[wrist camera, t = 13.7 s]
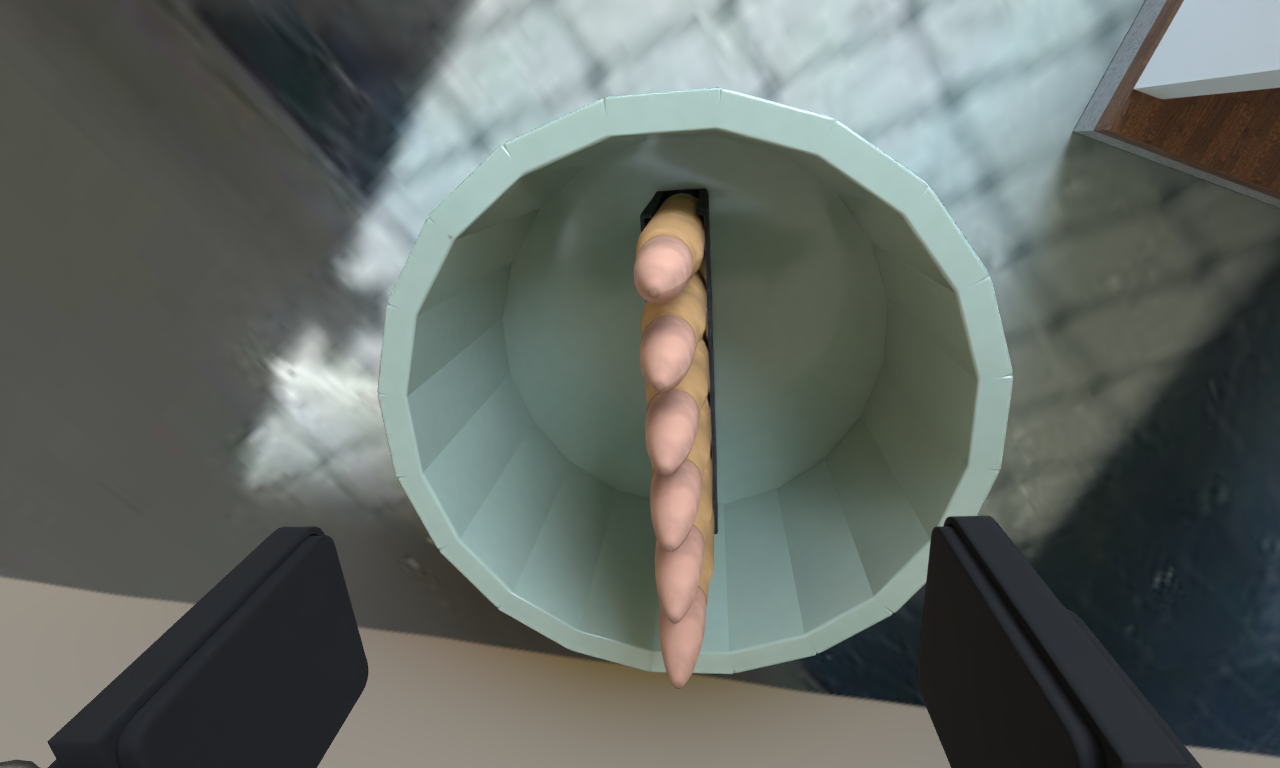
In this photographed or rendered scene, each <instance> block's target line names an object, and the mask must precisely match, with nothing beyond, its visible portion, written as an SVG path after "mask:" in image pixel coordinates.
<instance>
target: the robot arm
mask: <svg viewBox="0 0 1280 768" xmlns="http://www.w3.org/2000/svg"><path fill="white" fill-rule="evenodd" d="M917 675H918V683H919V688H920V692H921V695H922V698H923V700H924V702H925V705H926V707H927V710H928V712H929V714H930V717H931V719H932V722H933V724H934V727H935V729H936V732H937V734H938V736H939V739H940V741H941V744H942V746H943V748H944V751H945V753H946V756H947V758H948V761H949V763H950V766H951V768H1202V767H1201V766H1200V764H1199V763H1198V762H1197V761H1196V759H1195V758H1194V757H1193V756H1192V754H1191V753H1190V752H1189V751H1188V750H1187V748H1186V747H1185V746H1184V745H1183V743H1182V742H1181V741H1180V740H1179V738H1178V737H1177V736H1176V735H1175V734H1174V732H1173V731H1172V730H1171V729H1170V727H1169V726H1168V725H1167V724H1166V722H1165V721H1164V720H1163V719H1162V718H1161V716H1160V715H1159V714H1158V713H1157V711H1156V710H1155V709H1154V708H1153V706H1152V705H1151V704H1150V703H1149V701H1148V700H1147V699H1146V698H1145V697H1144V695H1143V694H1142V693H1141V692H1140V690H1139V689H1138V688H1137V687H1136V685H1135V684H1134V683H1133V682H1132V681H1131V679H1130V678H1129V677H1128V676H1127V674H1126V673H1125V672H1124V671H1123V669H1122V668H1121V667H1120V666H1119V665H1118V663H1117V662H1116V661H1115V660H1114V658H1113V657H1112V656H1111V655H1110V653H1109V652H1108V651H1107V650H1106V649H1105V647H1104V646H1103V645H1102V644H1101V642H1100V641H1099V640H1098V639H1097V637H1096V636H1095V635H1094V634H1093V633H1092V631H1091V630H1090V629H1089V628H1088V626H1087V625H1086V624H1085V623H1084V621H1083V620H1082V619H1081V618H1080V617H1079V616H1077V615H1076V614H1075V613H1074V612H1072V611H1070V610H1068V609H1065V607H1064V606H1063V605H1062V604H1061V602H1060V601H1059V600H1058V599H1057V597H1056V596H1055V595H1054V594H1053V592H1052V591H1051V590H1050V589H1049V587H1048V586H1047V585H1046V584H1045V582H1044V581H1043V580H1042V579H1041V577H1040V576H1039V575H1038V573H1037V572H1036V571H1035V570H1034V568H1033V567H1032V566H1031V565H1030V563H1029V562H1028V561H1027V560H1026V558H1025V557H1024V556H1023V555H1022V553H1021V552H1020V551H1019V550H1018V548H1017V547H1016V546H1015V545H1014V543H1013V542H1012V541H1011V540H1010V538H1009V537H1008V536H1007V535H1006V533H1005V532H1004V531H1003V530H1002V528H1001V527H1000V526H999V524H998V523H997V522H996V521H995V520H994V519H993V518H992V517H990V516H949V517H948V518H946V520H945V522H944V526H940V527H934V528H933V530H932V534H931V542H930V551H929V561H928V570H927V580H926V589H925V599H924V608H923V618H922V628H921V637H920V647H919V656H918V666H917ZM367 678H368V663H367V659H366V656H365V653H364V649H363V645H362V642H361V638H360V634H359V631H358V627H357V623H356V620H355V616H354V613H353V609H352V605H351V602H350V598H349V595H348V591H347V587H346V584H345V580H344V576H343V573H342V569H341V566H340V562H339V558H338V555H337V551H336V548H335V544H334V542H333V540H332V538H331V537H329V536H327V535H325V534H324V532H323V531H322V530H321V529H320V528H318V527H282V528H279V529H277V530H276V531H274V532H273V533H272V534H271V535H270V536H269V537H268V538H266V539H265V540H264V541H263V542H262V543H261V544H260V545H259V546H258V547H257V548H256V549H255V550H254V551H252V552H251V553H250V554H249V555H248V556H247V557H246V558H245V559H244V560H243V561H242V562H241V563H240V564H238V565H237V566H236V567H235V568H234V569H233V570H232V571H231V572H230V573H229V574H228V575H227V576H226V577H224V578H223V579H222V580H221V581H220V582H219V583H218V584H217V585H216V586H215V587H214V588H213V589H211V590H210V591H209V592H208V593H207V594H206V595H205V596H204V597H203V598H202V599H201V600H200V601H199V602H197V603H196V604H195V605H194V606H193V607H192V608H191V609H190V610H189V611H188V612H187V613H186V614H185V615H184V616H182V617H181V618H180V619H179V620H178V621H177V622H176V623H175V624H174V625H173V626H172V627H171V628H170V629H168V630H167V631H166V632H165V633H164V634H163V635H162V636H161V637H160V638H159V639H158V640H157V641H155V642H154V643H153V644H152V645H151V646H150V647H149V648H148V649H147V650H146V651H145V652H144V653H143V654H141V655H140V657H138V658H137V659H136V660H135V661H134V662H133V663H132V664H131V665H130V666H129V667H127V668H126V670H124V671H123V672H122V673H121V674H120V675H119V676H118V677H117V678H116V679H115V680H113V681H112V682H111V683H110V684H109V685H108V686H107V687H106V688H105V689H104V690H103V691H102V692H101V693H99V694H98V695H97V696H96V697H95V698H94V699H93V700H92V701H91V702H90V703H89V704H88V705H87V706H85V707H84V708H83V709H82V710H81V711H80V712H79V713H78V714H77V715H76V716H75V717H74V718H73V719H71V721H69V722H68V723H67V724H66V725H65V726H64V727H63V728H62V729H61V730H60V731H59V732H57V733H56V734H55V735H54V736H53V737H52V738H51V739H50V740H49V741H48V744H49V746H50V748H51V749H52V751H53V753H54V755H55V757H56V760H55V761H54V762H53V763H52V764H51V765H50V766H49V767H48V768H317V766H318V765H319V763H320V761H321V760H322V758H323V756H324V754H325V753H326V751H327V749H328V748H329V746H330V745H331V743H332V741H333V740H334V738H335V736H336V735H337V733H338V732H339V730H340V728H341V727H342V725H343V723H344V722H345V720H346V718H347V717H348V715H349V713H350V711H351V710H352V708H353V706H354V705H355V703H356V702H357V700H358V698H359V697H360V695H361V693H362V691H363V690H364V688H365V685H366V682H367ZM0 768H39V767H38V766H37V765H36V764H34V763H33V762H31V761H22V760H13V761H7V762H1V763H0Z"/></svg>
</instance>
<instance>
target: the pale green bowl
mask: <svg viewBox="0 0 1280 768" xmlns="http://www.w3.org/2000/svg"><path fill="white" fill-rule="evenodd" d="M701 188H706V189H707V191H708V194H709V220H710V253H711V286H712V319H713V352H714V385H715V418H716V451H717V496H718V533H717V534H714V570H713V574H712V577H711V580H710V583H709V589H708V602H707V606H706V623H705V631H704V637H703V643H702V647H701V651H700V654H699V657H698V660H697V663H696V665H695V668H694V670H693V673H707V674H733V673H740V672H744V671H749V670H753V669H757V668H762V667H766V666H771V665H775V664H779V663H784V662H788V661H793V660H797V659H801V658H806V657H810V656H815V655H816V653H821V652H823V651H825V650H827V649H829V648H831V647H833V646H835V645H836V644H838V643H840V642H842V641H844V640H846V639H848V638H850V637H852V636H853V635H855V634H857V633H859V632H861V631H863V630H865V629H867V628H869V627H870V626H872V625H874V624H876V623H878V622H880V621H882V620H884V619H886V618H887V617H889V616H891V615H892V612H893V613H896V612H897V611H898V610H899V609H900V608H901V607H902V606H903V605H904V604H905V603H906V602H907V601H908V600H909V599H910V598H911V597H912V596H913V595H914V594H915V593H916V592H917V591H918V590H919V589H921V588H922V587H923V586H924V585H925V584H926V580H927V570H928V561H929V551H930V542H931V534H932V530H933V528H934V527H940V526H944V522H945V520H946V518H948V517H949V516H977V515H978V513H979V511H980V509H981V507H982V505H983V503H984V501H985V499H986V497H987V496H988V494H989V492H990V490H991V488H992V486H993V484H994V482H995V480H996V478H997V476H998V475H999V470H1000V469H1001V464H1002V457H1003V450H1004V443H1005V436H1006V429H1007V422H1008V414H1009V407H1010V400H1011V393H1012V386H1013V379H1014V378H1013V375H1012V374H1013V370H1012V365H1011V361H1010V357H1009V352H1008V348H1007V344H1006V339H1005V335H1004V330H1003V326H1002V322H1001V317H1000V313H999V309H998V304H997V300H996V296H995V291H994V287H993V283H992V279H991V277H990V276H989V273H988V270H987V269H986V267H985V266H984V264H983V263H982V261H981V260H980V259H979V257H978V256H977V254H976V253H975V251H974V250H973V248H972V247H971V245H970V244H969V242H968V241H967V239H966V238H965V236H964V235H963V233H962V232H961V230H960V229H959V227H958V226H957V225H956V223H955V222H954V220H953V219H952V217H951V216H950V214H949V213H948V211H947V210H946V208H945V207H944V205H943V204H942V202H941V201H940V199H939V198H938V196H937V195H936V194H935V192H934V191H933V189H932V188H931V187H929V186H928V184H927V182H925V181H924V180H923V179H921V178H920V177H918V176H917V175H915V174H914V173H913V172H911V171H910V170H908V169H907V168H905V167H904V166H903V165H901V164H900V163H898V162H897V161H896V160H894V159H893V158H891V157H890V156H888V155H887V154H886V153H884V152H883V151H881V150H880V149H878V148H877V147H876V146H874V145H873V144H871V143H870V142H869V141H867V140H866V139H864V138H863V137H861V136H860V135H859V134H857V133H856V132H854V131H853V130H851V129H850V128H849V127H847V126H846V125H844V124H843V123H842V122H840V121H839V120H834V119H833V118H832V117H829V116H826V115H822V114H818V113H814V112H811V111H807V110H803V109H799V108H796V107H792V106H788V105H784V104H781V103H777V102H773V101H769V100H766V99H762V98H758V97H755V96H751V95H747V94H743V93H740V92H736V91H732V90H728V89H725V88H723V89H721V90H720V88H707V89H695V90H683V91H671V92H659V93H647V94H635V95H623V96H611V97H605V98H604V99H599V100H597V101H595V102H592V103H590V104H588V105H586V106H584V107H581V108H579V109H577V110H575V111H573V112H570V113H568V114H566V115H564V116H562V117H559V118H557V119H555V120H553V121H551V122H549V123H546V124H544V125H542V126H540V127H538V128H535V129H533V130H531V131H529V132H527V133H524V134H522V135H520V136H518V137H516V138H513V139H511V140H509V141H507V142H506V143H505V144H504V145H500V146H499V147H498V148H497V149H496V150H495V151H494V152H493V153H492V154H491V155H490V156H489V157H488V158H487V159H486V160H485V161H484V162H483V163H482V164H481V165H480V166H479V167H478V168H476V169H475V170H474V171H473V172H472V173H471V174H470V175H469V176H468V177H467V178H466V179H465V180H464V181H463V182H462V183H461V184H460V185H459V186H458V187H457V188H456V189H455V190H454V191H453V192H452V193H451V194H450V195H449V196H448V197H447V198H446V199H445V200H444V201H443V202H442V203H441V204H440V205H439V206H438V207H437V208H436V209H435V210H434V211H433V212H432V213H431V214H430V215H429V218H428V219H427V220H426V222H425V224H424V226H423V228H422V230H421V232H420V234H419V236H418V239H417V241H416V243H415V245H414V247H413V249H412V251H411V253H410V255H409V257H408V260H407V262H406V264H405V266H404V268H403V270H402V272H401V274H400V276H399V278H398V281H397V283H396V285H395V287H394V289H393V291H392V293H391V295H390V297H389V299H388V304H387V306H386V314H385V324H384V333H383V343H382V353H381V362H380V372H379V382H378V399H379V404H380V408H381V413H382V417H383V422H384V426H385V430H386V435H387V439H388V444H389V448H390V453H391V457H392V462H393V466H394V471H395V475H396V477H398V481H399V483H400V485H401V486H402V488H403V490H404V492H405V493H406V495H407V497H408V498H409V500H410V502H411V504H412V505H413V507H414V509H415V511H416V512H417V514H418V516H419V518H420V519H421V521H422V523H423V525H424V526H425V528H426V530H427V532H428V533H429V535H430V537H431V539H432V540H433V542H434V544H435V546H436V547H437V548H438V549H440V553H441V554H442V555H443V556H444V557H445V558H446V559H447V560H448V561H449V562H450V563H451V564H452V565H454V566H455V567H456V568H457V569H458V570H459V571H460V572H461V573H462V574H463V575H464V576H465V577H466V578H467V579H468V580H469V581H470V582H471V583H472V584H473V585H474V586H475V587H476V588H477V589H478V590H479V591H480V592H481V593H482V594H483V595H484V596H485V597H486V598H487V599H488V600H489V601H490V602H491V603H492V604H493V605H494V606H495V607H498V610H500V611H502V612H503V613H505V614H507V615H509V616H510V617H512V618H514V619H516V620H518V621H519V622H521V623H523V624H525V625H526V626H528V627H530V628H532V629H533V630H535V631H537V632H539V633H540V634H542V635H544V636H546V637H548V638H549V639H551V640H553V641H555V642H556V643H558V644H560V645H562V646H563V647H565V648H567V649H570V650H571V651H575V652H579V653H582V654H586V655H590V656H593V657H597V658H600V659H604V660H608V661H611V662H615V663H619V664H622V665H626V666H629V667H633V668H637V669H641V670H644V671H648V672H649V671H650V672H666V669H665V666H664V661H663V657H662V652H661V644H660V630H659V612H660V600H659V596H658V592H657V586H656V577H655V550H656V534H655V531H654V527H653V523H652V518H651V508H650V489H651V482H652V479H651V472H652V463H651V460H650V458H649V455H648V452H647V447H646V438H645V422H646V416H647V398H646V388H645V384H646V381H645V379H644V376H643V374H642V372H641V367H640V346H641V342H642V331H641V316H642V313H643V309H644V306H645V304H646V300H645V299H644V298H643V297H642V296H641V295H640V294H639V292H638V290H637V288H636V286H635V283H634V265H635V261H636V246H637V242H638V238H639V235H640V234H641V225H640V214H641V213H642V211H643V210H644V209H645V207H646V206H647V205H648V203H649V202H650V201H651V199H652V198H653V196H654V195H655V193H656V192H657V191H670V190H685V189H701Z"/></svg>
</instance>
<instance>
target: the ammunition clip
mask: <svg viewBox="0 0 1280 768" xmlns="http://www.w3.org/2000/svg"><path fill="white" fill-rule="evenodd" d="M640 225H641V234H640V235H639V238H638V242H637V246H636V261H635V265H634V283H635V286H636V288H637V290H638V292H639V294H640V295H641V296H642V297H643V298H644V299H645V300H646V304H645V306H644V309H643V313H642V316H641V331H642V342H641V346H640V367H641V372H642V374H643V376H644V379H645V381H646V384H645V388H646V398H647V416H646V422H645V438H646V447H647V452H648V455H649V458H650V460H651V463H652V472H651V479H652V482H651V489H650V508H651V518H652V523H653V527H654V531H655V534H656V550H655V577H656V586H657V592H658V596H659V600H660V612H659V630H660V644H661V652H662V657H663V661H664V666H665V669H666V672H667V675H668V677H669V679H670V681H671V683H672V684H673V686H674V687H675V688H677V689H680V688H682V687H683V686H684V685H685V684H686V683H687V681H688V680H689V679H690V677H691V675H692V673H693V670H694V668H695V665H696V663H697V660H698V657H699V654H700V651H701V647H702V643H703V637H704V631H705V623H706V606H707V602H708V589H709V583H710V580H711V577H712V574H713V570H714V534H717V533H718V496H717V451H716V418H715V385H714V352H713V319H712V286H711V253H710V220H709V194H708V191H707V189H706V188H701V189H685V190H670V191H657V192H656V193H655V195H654V196H653V198H652V199H651V201H650V202H649V203H648V205H647V206H646V207H645V209H644V210H643V211H642V213H641V214H640Z"/></svg>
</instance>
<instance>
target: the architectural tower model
mask: <svg viewBox="0 0 1280 768" xmlns="http://www.w3.org/2000/svg"><path fill="white" fill-rule="evenodd" d="M1073 132H1076V133H1079V134H1081V135H1084V136H1087V137H1090V138H1092V139H1095V140H1098V141H1100V142H1103V143H1106V144H1109V145H1111V146H1114V147H1117V148H1119V149H1122V150H1125V151H1128V152H1130V153H1133V154H1136V155H1138V156H1141V157H1144V158H1146V159H1149V160H1152V161H1155V162H1157V163H1160V164H1163V165H1165V166H1168V167H1171V168H1174V169H1176V170H1179V171H1182V172H1184V173H1187V174H1190V175H1192V176H1195V177H1198V178H1201V179H1203V180H1206V181H1209V182H1211V183H1214V184H1217V185H1220V186H1222V187H1225V188H1228V189H1230V190H1233V191H1236V192H1239V193H1241V194H1244V195H1247V196H1249V197H1252V198H1255V199H1257V200H1260V201H1263V202H1266V203H1268V204H1271V205H1274V206H1276V207H1279V208H1280V0H1146V1H1145V3H1144V4H1143V6H1142V8H1141V10H1140V12H1139V13H1138V15H1137V17H1136V19H1135V21H1134V22H1133V24H1132V26H1131V28H1130V30H1129V31H1128V33H1127V35H1126V37H1125V39H1124V41H1123V42H1122V44H1121V46H1120V48H1119V50H1118V51H1117V53H1116V55H1115V57H1114V59H1113V60H1112V62H1111V64H1110V66H1109V68H1108V69H1107V71H1106V73H1105V75H1104V77H1103V78H1102V80H1101V82H1100V84H1099V86H1098V87H1097V89H1096V91H1095V93H1094V95H1093V96H1092V98H1091V100H1090V102H1089V104H1088V105H1087V107H1086V109H1085V111H1084V113H1083V114H1082V116H1081V118H1080V120H1079V122H1078V124H1077V125H1076V127H1075V129H1074V131H1073Z"/></svg>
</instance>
